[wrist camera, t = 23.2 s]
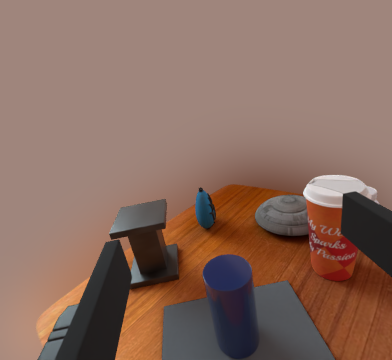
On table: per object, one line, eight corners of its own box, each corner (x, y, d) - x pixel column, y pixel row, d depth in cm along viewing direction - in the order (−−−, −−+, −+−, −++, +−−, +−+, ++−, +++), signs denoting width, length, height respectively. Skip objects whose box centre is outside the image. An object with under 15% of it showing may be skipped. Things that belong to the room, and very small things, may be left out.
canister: (221, 364, 28) (207, 296, 24) (212, 322, 33) (199, 260, 29) (266, 352, 29) (259, 283, 25) (250, 312, 34) (242, 249, 30)
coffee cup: (295, 272, 39) (293, 191, 34) (315, 245, 44) (315, 170, 39) (354, 296, 34) (363, 203, 28) (369, 262, 39) (379, 177, 33)
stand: (129, 289, 42) (108, 233, 38) (136, 256, 51) (120, 207, 46) (179, 279, 43) (164, 222, 38) (178, 248, 51) (165, 198, 47)
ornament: (219, 233, 53) (212, 193, 50) (198, 236, 54) (190, 197, 50) (215, 214, 61) (209, 179, 57) (198, 217, 61) (191, 182, 58)
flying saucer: (249, 237, 50) (247, 215, 48) (260, 203, 62) (259, 184, 60) (331, 245, 44) (332, 220, 42) (325, 205, 56) (326, 184, 54)
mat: (160, 424, 24) (159, 422, 24) (164, 308, 37) (163, 306, 37) (347, 382, 25) (348, 380, 25) (287, 282, 38) (287, 280, 38)
